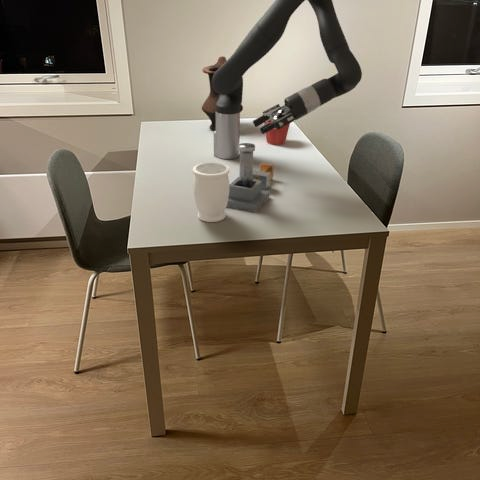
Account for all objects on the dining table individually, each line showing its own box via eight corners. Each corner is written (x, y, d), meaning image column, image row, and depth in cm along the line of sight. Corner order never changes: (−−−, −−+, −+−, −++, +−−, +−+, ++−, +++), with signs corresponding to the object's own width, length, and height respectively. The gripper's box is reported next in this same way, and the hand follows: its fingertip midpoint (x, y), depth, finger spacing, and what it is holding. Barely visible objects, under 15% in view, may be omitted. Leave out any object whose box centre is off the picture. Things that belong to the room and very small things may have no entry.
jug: (242, 135, 212) (243, 63, 197) (200, 134, 212) (198, 63, 197) (242, 122, 230) (244, 56, 216) (204, 121, 230) (203, 55, 216)
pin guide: (246, 187, 161) (246, 173, 158) (250, 183, 164) (250, 169, 161) (265, 191, 159) (266, 176, 156) (269, 187, 162) (270, 172, 159)
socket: (219, 205, 149) (219, 187, 146) (234, 191, 158) (234, 173, 155) (256, 212, 145) (256, 193, 142) (269, 197, 155) (270, 179, 152)
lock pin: (261, 176, 169) (261, 163, 167) (272, 178, 168) (273, 164, 165) (248, 189, 159) (248, 174, 157) (260, 191, 158) (261, 176, 155)
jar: (194, 208, 146) (192, 161, 139) (228, 208, 147) (228, 161, 140) (194, 225, 137) (192, 175, 129) (230, 224, 138) (230, 174, 130)
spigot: (234, 196, 149) (235, 146, 142) (240, 190, 153) (242, 142, 146) (249, 199, 148) (251, 149, 140) (255, 193, 152) (257, 144, 144)
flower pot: (281, 148, 198) (282, 124, 193) (258, 143, 203) (259, 120, 198) (293, 141, 206) (294, 119, 201) (270, 137, 211) (271, 114, 206)
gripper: (290, 87, 156) (246, 112, 156) (306, 96, 144) (258, 122, 144) (299, 108, 160) (256, 132, 160) (314, 118, 147) (268, 144, 148)
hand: (257, 127), depth 152 cm, fingers open, 8 cm apart
